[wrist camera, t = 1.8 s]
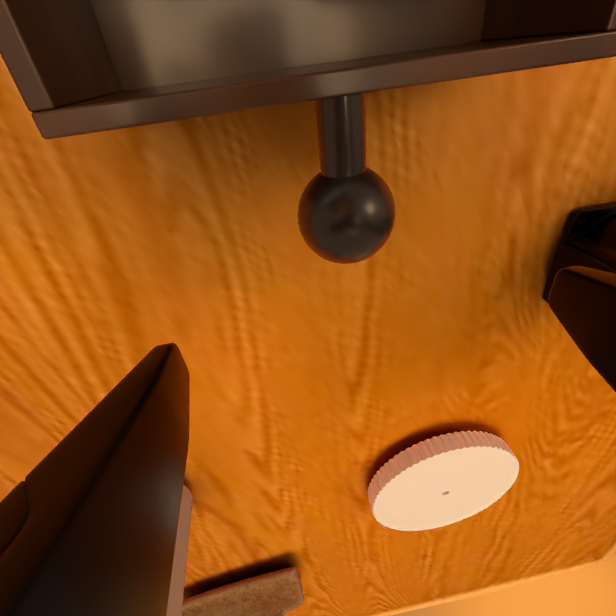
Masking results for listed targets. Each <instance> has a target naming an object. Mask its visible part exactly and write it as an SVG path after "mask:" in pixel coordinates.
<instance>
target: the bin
mask: <svg viewBox="0 0 616 616" xmlns="http://www.w3.org/2000/svg"><path fill="white" fill-rule="evenodd" d="M0 53H1V55H2V57H3V59H4V61H5V63H6V65H7V67H8V69H9V71H10V73H11V75H12V77H13V80H14V82H15V84H16V86H17V88H18V90H19V92H20V94H21V96H22V98H23V100H24V102H25V104H26V106H27V108H28V110H29V111H31V112H33V113H32V117H33V119H34V121H35V123H36V125H37V127H38V129H39V131H40V133H41V135H42V137H43V138H44V139H54V138H61V137H67V136H74V135H81V134H88V133H95V132H102V131H109V130H115V129H122V128H129V127H136V126H143V125H150V124H157V123H163V122H170V121H177V120H184V119H191V118H198V117H204V116H211V115H218V114H225V113H232V112H239V111H246V110H252V109H259V108H266V107H273V106H280V105H287V104H294V103H300V102H307V101H314V100H315V111H316V122H317V134H318V145H319V157H320V168H321V172H320V173H318V174H317V175H316V176H315V177H314V178H313V179H312V180H311V181H310V182H309V183H308V184H307V186H306V188H305V189H304V191H303V193H302V195H301V198H300V201H299V206H298V224H299V228H300V232H301V234H302V236H303V238H304V240H305V242H306V243H307V245H308V246H309V247H310V248H311V249H312V250H313V251H314V252H315V253H316V254H317V255H319V256H320V257H322V258H324V259H326V260H328V261H331V262H334V263H341V264H350V263H356V262H360V261H362V260H365V259H367V258H369V257H371V256H372V255H374V254H375V253H376V252H377V251H379V250H380V249H381V248H382V246H383V245H384V244H385V243H386V241H387V240H388V238H389V236H390V234H391V232H392V229H393V226H394V221H395V204H394V199H393V196H392V193H391V191H390V189H389V187H388V185H387V184H386V182H385V181H384V180H383V179H382V178H381V177H380V176H379V175H378V174H377V173H375V172H374V171H372V170H371V169H369V168H367V167H366V108H365V93H369V92H376V91H383V90H389V89H396V88H403V87H410V86H417V85H424V84H431V83H437V82H444V81H451V80H458V79H465V78H472V77H478V76H485V75H492V74H499V73H506V72H513V71H520V70H526V69H533V68H540V67H547V66H554V65H561V64H568V63H574V62H581V61H588V60H595V59H602V58H609V57H615V56H616V0H0Z"/></svg>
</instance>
